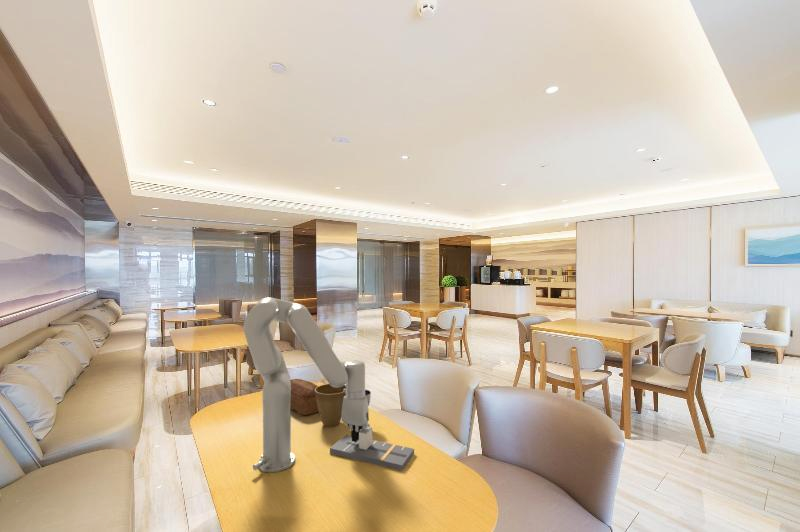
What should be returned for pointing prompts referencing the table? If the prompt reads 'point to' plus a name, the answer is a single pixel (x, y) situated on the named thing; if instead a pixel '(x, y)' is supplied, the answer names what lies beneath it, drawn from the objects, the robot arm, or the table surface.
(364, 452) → the console
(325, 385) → the plant pot
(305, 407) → the bread
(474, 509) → the table surface
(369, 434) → the fader tab
